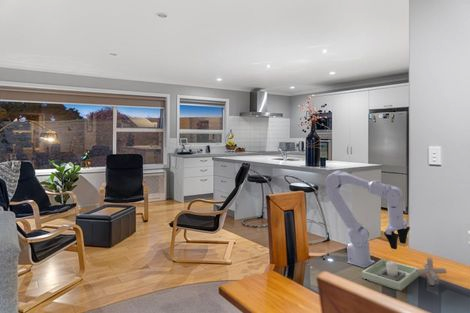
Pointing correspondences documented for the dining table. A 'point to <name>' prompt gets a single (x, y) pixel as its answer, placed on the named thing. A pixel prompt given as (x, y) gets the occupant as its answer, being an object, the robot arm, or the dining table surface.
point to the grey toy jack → (431, 271)
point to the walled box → (379, 276)
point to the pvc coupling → (391, 269)
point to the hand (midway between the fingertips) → (398, 245)
